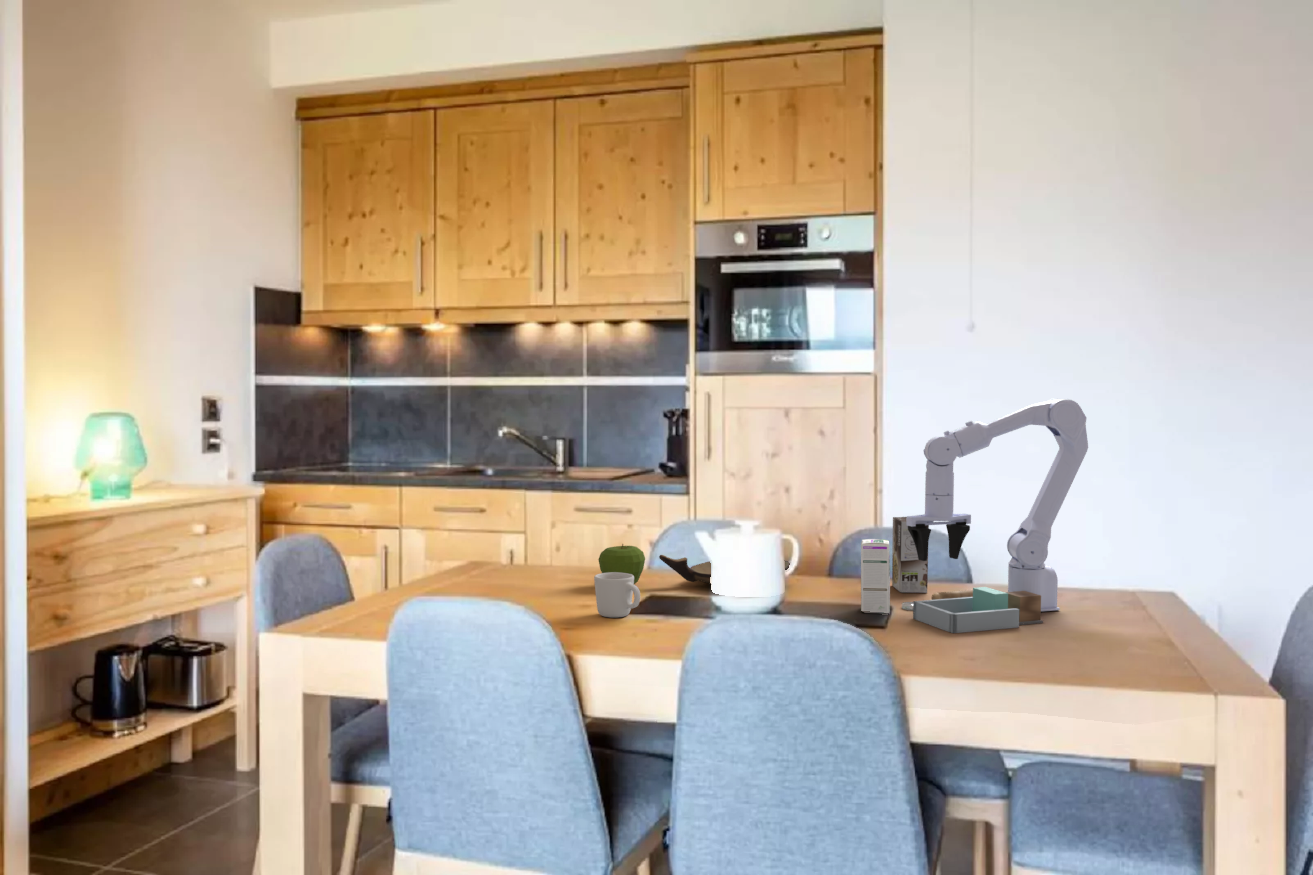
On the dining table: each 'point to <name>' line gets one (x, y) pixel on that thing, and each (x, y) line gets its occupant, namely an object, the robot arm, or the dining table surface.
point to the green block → (989, 599)
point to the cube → (1025, 605)
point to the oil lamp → (693, 569)
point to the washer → (907, 606)
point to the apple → (622, 560)
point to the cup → (615, 594)
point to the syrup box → (875, 575)
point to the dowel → (952, 594)
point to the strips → (1030, 622)
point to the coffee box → (907, 561)
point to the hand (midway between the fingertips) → (938, 559)
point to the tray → (963, 615)
